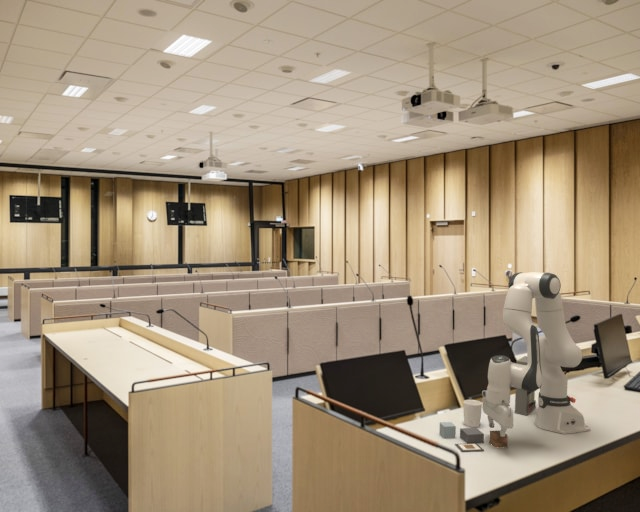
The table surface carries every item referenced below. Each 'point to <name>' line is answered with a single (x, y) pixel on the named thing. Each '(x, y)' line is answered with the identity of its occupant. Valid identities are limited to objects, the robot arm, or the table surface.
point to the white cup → (472, 412)
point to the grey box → (524, 396)
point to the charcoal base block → (471, 435)
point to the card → (469, 447)
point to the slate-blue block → (447, 430)
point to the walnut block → (498, 439)
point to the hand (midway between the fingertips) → (496, 431)
